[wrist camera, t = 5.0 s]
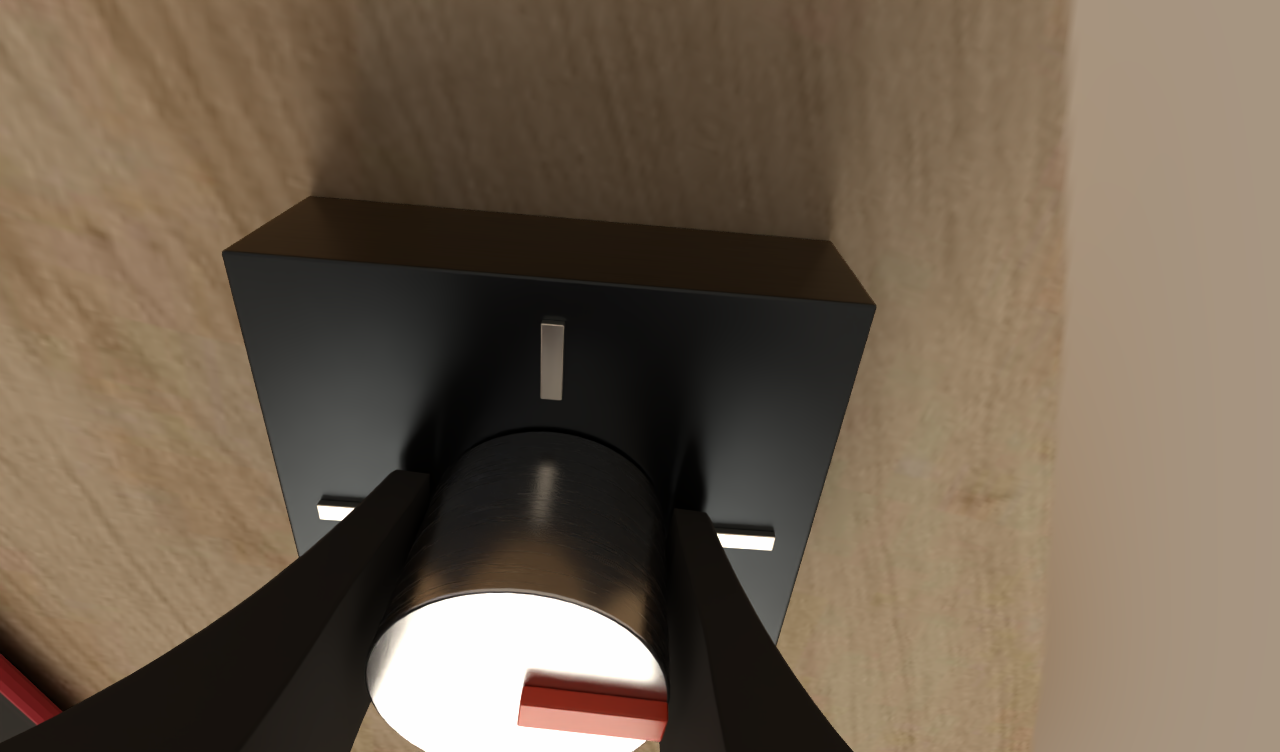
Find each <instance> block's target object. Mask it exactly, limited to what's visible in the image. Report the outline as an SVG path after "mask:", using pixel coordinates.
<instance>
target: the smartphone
mask: <svg viewBox="0 0 1280 752" xmlns="http://www.w3.org/2000/svg"><path fill="white" fill-rule="evenodd" d="M60 713H62V711H61V710H60V709H59V708H58V707H57V706H56V705H55V704H54V703H53V702H52V701H51V700H50V699H48V698H47V697H46V696H45V695H44V694H43V693H42V692H41V691H40V690H39V689H38V688H37V687H36V686H35V685H34V684H33V683H31V682H30V681H29V680H28V679H27V678H26V677H25V676H24V675H23V674H22V673H21V672H20V671H19V670H18V669H17V668H15V667H14V666H13V665H12V664H11V663H10V662H9V661H8V660H7V659H6V658H5V657H4V656H3V655H2V654H1V653H0V743H1V742H3V741H5V740H7V739H10V738H12V737H14V736H16V735H18V734H20V733H22V732H24V731H26V730H28V729H30V728H32V727H34V726H36V725H38V724H40V723H42V722H44V721H46V720H48V719H50V718H52V717H54V716H56V715H58V714H60Z"/></svg>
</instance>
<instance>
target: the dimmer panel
mask: <svg viewBox="0 0 1280 752" xmlns="http://www.w3.org/2000/svg"><path fill="white" fill-rule="evenodd" d="M222 256H223V260H224V264H225V268H226V272H227V276H228V280H229V284H230V288H231V292H232V296H233V300H234V304H235V307H236V311H237V315H238V319H239V323H240V327H241V331H242V335H243V339H244V343H245V347H246V351H247V355H248V359H249V363H250V367H251V371H252V375H253V378H254V382H255V386H256V390H257V394H258V398H259V402H260V406H261V410H262V414H263V418H264V422H265V426H266V430H267V434H268V438H269V442H270V446H271V450H272V453H273V457H274V461H275V465H276V469H277V473H278V477H279V481H280V485H281V489H282V493H283V497H284V501H285V505H286V509H287V513H288V517H289V521H290V524H291V528H292V532H293V536H294V540H295V544H296V548H297V552H298V556H299V557H300V556H302V555H303V554H304V553H305V552H306V551H308V550H309V549H310V548H311V547H312V546H313V545H314V544H316V543H317V542H318V541H319V540H320V539H321V538H322V537H323V536H325V535H326V534H327V533H328V532H329V531H330V530H331V529H332V528H334V527H335V526H336V525H337V524H338V523H339V522H340V521H341V520H343V519H344V518H345V517H346V516H347V515H348V514H349V513H350V512H351V511H352V510H353V509H354V508H355V507H356V506H357V505H358V504H360V503H361V502H362V501H363V500H364V499H365V498H366V497H367V496H368V495H369V494H370V493H371V492H372V491H373V490H374V489H375V488H376V487H377V486H378V485H379V484H380V483H381V482H382V481H383V480H384V479H385V478H386V477H387V476H388V475H389V474H390V473H391V472H393V471H394V470H396V469H397V470H405V471H412V472H419V473H426V474H430V502H431V499H432V497H433V495H434V492H435V490H436V488H437V486H438V484H439V482H440V480H441V478H442V476H443V475H444V473H445V472H446V471H447V469H448V468H449V467H450V466H451V465H452V464H453V463H454V462H455V461H456V460H457V459H458V458H459V457H461V456H462V455H463V454H465V453H466V452H468V451H469V450H470V449H472V448H474V447H476V446H478V445H480V444H482V443H484V442H486V441H489V440H492V439H494V438H497V437H501V436H505V435H509V434H514V433H522V432H537V431H547V432H558V433H565V434H570V435H575V436H579V437H583V438H586V439H589V440H592V441H595V442H597V443H600V444H602V445H604V446H606V447H609V448H610V449H612V450H614V451H615V452H617V453H619V454H621V455H622V456H624V457H625V458H626V459H628V460H629V461H630V462H631V463H633V464H634V465H635V466H636V467H637V468H638V469H639V470H640V471H641V472H642V473H643V474H644V475H645V476H646V478H647V479H648V480H649V482H650V483H651V484H652V485H653V487H654V489H655V491H656V493H657V494H658V496H659V499H660V501H661V504H662V507H663V511H664V517H665V535H666V537H667V534H668V530H669V526H670V522H671V519H672V515H673V511H674V508H678V509H685V510H692V511H699V512H706V513H707V514H708V516H709V517H710V519H711V521H712V524H713V526H714V528H715V531H716V533H717V535H718V538H719V540H720V542H721V544H722V547H723V549H724V551H725V553H726V555H727V557H728V559H729V562H730V564H731V566H732V568H733V570H734V572H735V574H736V576H737V578H738V580H739V582H740V584H741V586H742V588H743V589H744V591H745V593H746V595H747V597H748V599H749V601H750V602H751V604H752V606H753V608H754V610H755V612H756V613H757V615H758V617H759V619H760V620H761V622H762V624H763V626H764V627H765V629H766V631H767V632H768V634H769V636H770V637H771V639H772V641H773V642H774V644H775V645H777V642H778V638H779V635H780V632H781V628H782V625H783V621H784V618H785V615H786V611H787V608H788V605H789V601H790V598H791V594H792V591H793V588H794V584H795V581H796V578H797V574H798V571H799V567H800V564H801V561H802V557H803V554H804V551H805V547H806V544H807V540H808V537H809V534H810V530H811V527H812V523H813V520H814V517H815V513H816V510H817V507H818V503H819V500H820V496H821V493H822V490H823V486H824V483H825V480H826V476H827V473H828V469H829V466H830V463H831V459H832V456H833V452H834V449H835V446H836V442H837V439H838V436H839V432H840V429H841V425H842V422H843V419H844V415H845V412H846V409H847V405H848V402H849V398H850V395H851V392H852V388H853V385H854V381H855V378H856V375H857V371H858V368H859V365H860V361H861V358H862V354H863V351H864V348H865V344H866V341H867V338H868V334H869V331H870V327H871V324H872V321H873V317H874V314H875V311H876V304H875V303H874V301H873V300H872V299H871V297H870V296H869V294H868V293H867V292H866V290H865V289H864V287H863V286H862V284H861V283H860V282H859V280H858V279H857V277H856V276H855V275H854V273H853V272H852V270H851V269H850V267H849V266H848V265H847V263H846V262H845V260H844V259H843V258H842V256H841V255H840V253H839V252H838V250H837V249H836V248H835V246H834V245H833V243H832V242H831V241H823V240H811V239H800V238H788V237H777V236H765V235H753V234H742V233H730V232H719V231H707V230H696V229H684V228H672V227H661V226H649V225H638V224H626V223H614V222H603V221H591V220H580V219H568V218H557V217H545V216H533V215H522V214H510V213H499V212H487V211H475V210H464V209H452V208H441V207H429V206H418V205H406V204H394V203H383V202H371V201H360V200H348V199H336V198H325V197H313V196H309V197H307V198H306V199H304V200H302V201H301V202H299V203H298V204H296V205H294V206H293V207H291V208H290V209H288V210H287V211H285V212H283V213H282V214H280V215H279V216H277V217H275V218H274V219H272V220H271V221H269V222H268V223H266V224H264V225H263V226H261V227H260V228H258V229H256V230H255V231H253V232H252V233H250V234H249V235H247V236H245V237H244V238H242V239H241V240H239V241H237V242H236V243H234V244H233V245H231V246H230V247H228V248H226V249H225V250H223V251H222Z"/></svg>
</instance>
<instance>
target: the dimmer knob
mask: <svg viewBox="0 0 1280 752" xmlns="http://www.w3.org/2000/svg"><path fill="white" fill-rule="evenodd" d="M365 681H366V687H367V691H368V694H369V696H370V699H371V701H372V703H373V705H374V706H375V708H376V710H377V711H378V713H379V714H380V715H381V716H382V718H383V719H384V720H385V721H386V723H387V724H388V725H389V726H391V727H392V728H393V729H394V730H395V731H396V732H397V733H398V734H399V735H401V736H402V737H403V738H405V739H406V740H408V741H409V742H410V743H412V744H413V745H415V746H417V747H419V748H420V749H422V750H424V751H425V752H633V751H635V750H636V749H637V748H639V747H640V746H641V745H643V744H644V743H645V742H646V741H656V742H661V741H662V738H663V735H664V732H665V729H666V726H667V723H668V705H669V701H670V663H669V631H668V599H667V567H666V535H665V517H664V511H663V507H662V504H661V501H660V499H659V496H658V494H657V493H656V491H655V489H654V487H653V485H652V484H651V483H650V482H649V480H648V479H647V478H646V476H645V475H644V474H643V473H642V472H641V471H640V470H639V469H638V468H637V467H636V466H635V465H634V464H633V463H631V462H630V461H629V460H628V459H626V458H625V457H624V456H622V455H621V454H619V453H617V452H615V451H614V450H612V449H610V448H609V447H606V446H604V445H602V444H600V443H597V442H595V441H592V440H589V439H586V438H583V437H579V436H575V435H570V434H565V433H558V432H547V431H537V432H522V433H514V434H509V435H505V436H501V437H497V438H494V439H492V440H489V441H486V442H484V443H482V444H480V445H478V446H476V447H474V448H472V449H470V450H469V451H468V452H466V453H465V454H463V455H462V456H461V457H459V458H458V459H457V460H456V461H455V462H454V463H453V464H452V465H451V466H450V467H449V468H448V469H447V471H446V472H445V473H444V475H443V476H442V478H441V480H440V482H439V484H438V486H437V488H436V490H435V492H434V495H433V497H432V499H431V502H430V504H429V507H428V509H427V511H426V514H425V516H424V518H423V521H422V523H421V526H420V528H419V530H418V533H417V535H416V538H415V540H414V542H413V545H412V547H411V550H410V552H409V554H408V557H407V559H406V561H405V564H404V566H403V569H402V571H401V573H400V576H399V578H398V581H397V583H396V585H395V588H394V590H393V592H392V595H391V597H390V600H389V602H388V604H387V607H386V609H385V612H384V614H383V616H382V619H381V621H380V623H379V626H378V628H377V631H376V633H375V635H374V638H373V640H372V643H371V645H370V647H369V650H368V653H367V657H366V661H365Z"/></svg>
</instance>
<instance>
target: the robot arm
mask: <svg viewBox="0 0 1280 752" xmlns="http://www.w3.org/2000/svg"><path fill="white" fill-rule="evenodd" d="M429 504H430V474H426V473H419V472H412V471H405V470H397V469H396V470H394V471H393V472H391V473H390V474H389V475H388V476H387V477H386V478H385V479H384V480H383V481H382V482H381V483H380V484H379V485H378V486H377V487H376V488H375V489H374V490H373V491H372V492H371V493H370V494H369V495H368V496H367V497H366V498H365V499H364V500H363V501H362V502H361V503H360V504H358V505H357V506H356V507H355V508H354V509H353V510H352V511H351V512H350V513H349V514H348V515H347V516H346V517H345V518H344V519H343V520H341V521H340V522H339V523H338V524H337V525H336V526H335V527H334V528H332V529H331V530H330V531H329V532H328V533H327V534H326V535H325V536H323V537H322V538H321V539H320V540H319V541H318V542H317V543H316V544H314V545H313V546H312V547H311V548H310V549H309V550H308V551H306V552H305V553H304V554H303V555H302V556H300V557H299V558H298V559H297V560H295V561H294V562H293V563H292V564H290V565H289V566H288V567H287V568H285V569H284V570H283V571H282V572H281V573H279V574H278V575H277V576H276V577H274V578H273V579H272V580H271V581H269V582H268V583H267V584H266V585H264V586H263V587H262V588H260V589H259V590H258V591H256V592H255V593H254V594H252V595H251V596H250V597H248V598H247V599H246V600H244V601H243V602H242V603H240V604H239V605H237V606H236V607H235V608H233V609H232V610H230V611H229V612H228V613H226V614H225V615H223V616H222V617H220V618H219V619H217V620H216V621H215V622H213V623H212V624H210V625H209V626H207V627H206V628H204V629H203V630H201V631H200V632H198V633H197V634H195V635H194V636H192V637H190V638H189V639H187V640H186V641H184V642H183V643H181V644H179V645H178V646H176V647H175V648H173V649H172V650H170V651H169V652H167V653H165V654H164V655H162V656H161V657H159V658H157V659H156V660H154V661H152V662H151V663H149V664H148V665H146V666H144V667H143V668H141V669H139V670H137V671H136V672H134V673H132V674H131V675H129V676H127V677H125V678H124V679H122V680H120V681H118V682H116V683H114V684H113V685H111V686H109V687H107V688H105V689H104V690H102V691H100V692H98V693H96V694H95V695H93V696H91V697H89V698H87V699H86V700H84V701H82V702H80V703H78V704H76V705H75V706H73V707H71V708H69V709H67V710H65V711H64V712H62V713H60V714H58V715H56V716H54V717H52V718H50V719H48V720H46V721H44V722H42V723H40V724H38V725H36V726H34V727H32V728H30V729H28V730H26V731H24V732H22V733H20V734H18V735H16V736H14V737H12V738H10V739H7V740H5V741H3V742H1V743H0V752H350V751H351V748H352V746H353V743H354V741H355V738H356V736H357V733H358V731H359V728H360V726H361V723H362V721H363V718H364V716H365V714H366V712H367V709H368V707H369V705H370V703H371V699H370V696H369V694H368V691H367V687H366V681H365V661H366V657H367V653H368V650H369V647H370V645H371V643H372V640H373V638H374V635H375V633H376V631H377V628H378V626H379V623H380V621H381V619H382V616H383V614H384V612H385V609H386V607H387V604H388V602H389V600H390V597H391V595H392V592H393V590H394V588H395V585H396V583H397V581H398V578H399V576H400V573H401V571H402V569H403V566H404V564H405V561H406V559H407V557H408V554H409V552H410V550H411V547H412V545H413V542H414V540H415V538H416V535H417V533H418V530H419V528H420V526H421V523H422V521H423V518H424V516H425V514H426V511H427V509H428V507H429ZM666 567H667V599H668V631H669V663H670V701H669V705H668V723H667V726H666V729H665V732H664V735H663V738H662V741H661V742H659V744H660V752H853V751H852V749H851V748H850V747H849V746H848V745H847V744H846V742H845V741H844V740H843V739H842V738H841V736H840V735H839V734H838V733H837V732H836V730H835V729H834V728H833V727H832V725H831V724H830V723H829V721H828V720H827V719H826V717H825V716H824V715H823V713H822V712H821V711H820V710H819V708H818V707H817V706H816V704H815V703H814V702H813V700H812V699H811V697H810V696H809V695H808V693H807V692H806V690H805V689H804V688H803V686H802V685H801V683H800V682H799V681H798V679H797V678H796V676H795V675H794V673H793V672H792V670H791V669H790V667H789V666H788V664H787V663H786V661H785V660H784V658H783V657H782V655H781V653H780V652H779V650H778V649H777V647H776V645H775V644H774V642H773V641H772V639H771V637H770V636H769V634H768V632H767V631H766V629H765V627H764V626H763V624H762V622H761V620H760V619H759V617H758V615H757V613H756V612H755V610H754V608H753V606H752V604H751V602H750V601H749V599H748V597H747V595H746V593H745V591H744V589H743V588H742V586H741V584H740V582H739V580H738V578H737V576H736V574H735V572H734V570H733V568H732V566H731V564H730V562H729V559H728V557H727V555H726V553H725V551H724V549H723V547H722V544H721V542H720V540H719V538H718V535H717V533H716V531H715V528H714V526H713V524H712V521H711V519H710V517H709V516H708V514H707V513H706V512H699V511H692V510H685V509H678V508H674V511H673V515H672V519H671V522H670V526H669V530H668V534H667V537H666Z"/></svg>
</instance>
